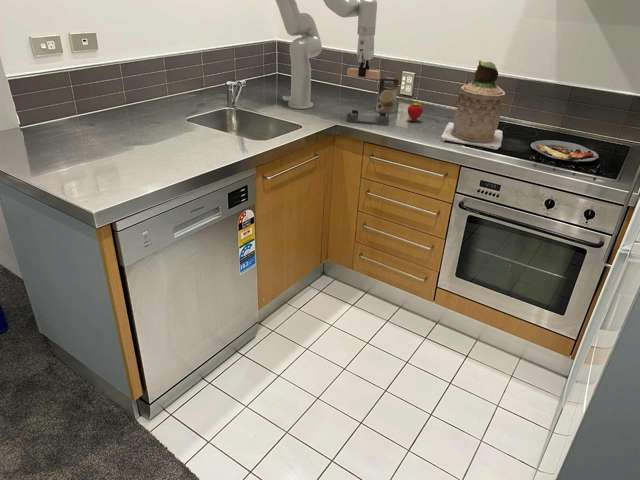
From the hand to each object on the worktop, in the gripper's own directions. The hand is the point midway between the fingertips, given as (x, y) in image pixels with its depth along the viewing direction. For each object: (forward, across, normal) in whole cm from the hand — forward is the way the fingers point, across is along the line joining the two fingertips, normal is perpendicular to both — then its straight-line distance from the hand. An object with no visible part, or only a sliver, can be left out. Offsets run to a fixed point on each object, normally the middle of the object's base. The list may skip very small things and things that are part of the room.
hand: (363, 75), depth 216 cm
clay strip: (+1, 0, 0) cm, 1 cm away
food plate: (+23, -2, -87) cm, 90 cm away
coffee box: (+20, +22, -6) cm, 30 cm away
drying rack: (+20, +1, -3) cm, 20 cm away
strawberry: (+21, +11, -22) cm, 33 cm away
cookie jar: (+22, +1, -51) cm, 55 cm away
